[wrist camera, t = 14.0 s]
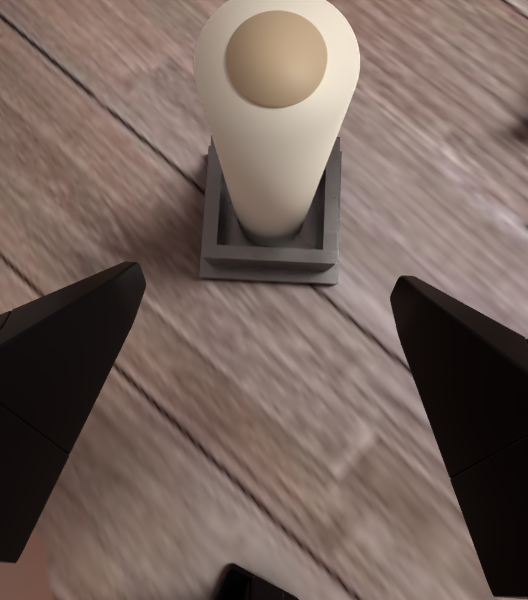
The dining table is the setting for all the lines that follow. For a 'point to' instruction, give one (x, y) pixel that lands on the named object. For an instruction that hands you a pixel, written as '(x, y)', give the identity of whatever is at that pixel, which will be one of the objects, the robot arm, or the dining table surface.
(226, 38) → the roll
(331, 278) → the holder
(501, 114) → the dining table surface
